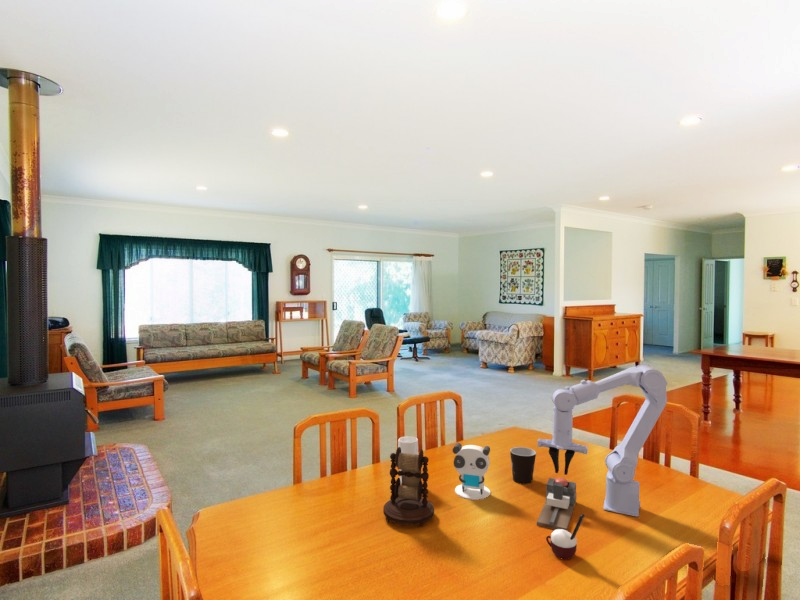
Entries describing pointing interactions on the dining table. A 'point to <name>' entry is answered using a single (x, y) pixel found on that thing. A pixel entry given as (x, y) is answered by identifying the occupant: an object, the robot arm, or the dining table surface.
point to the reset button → (562, 481)
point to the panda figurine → (471, 470)
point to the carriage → (558, 497)
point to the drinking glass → (408, 446)
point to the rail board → (557, 508)
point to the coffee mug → (522, 464)
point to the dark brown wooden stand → (409, 490)
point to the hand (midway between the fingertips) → (561, 472)
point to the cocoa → (564, 541)
